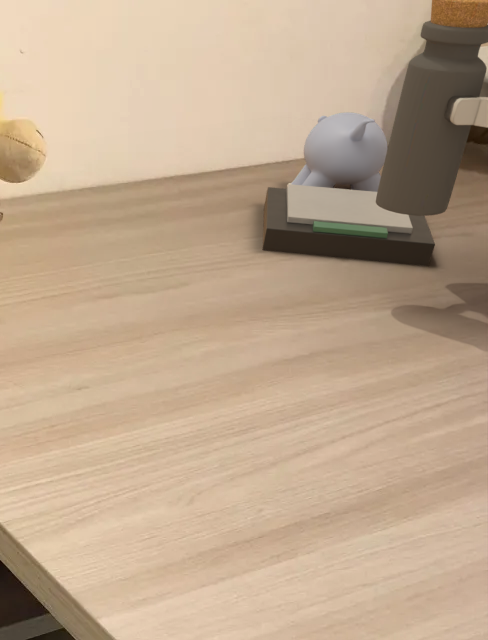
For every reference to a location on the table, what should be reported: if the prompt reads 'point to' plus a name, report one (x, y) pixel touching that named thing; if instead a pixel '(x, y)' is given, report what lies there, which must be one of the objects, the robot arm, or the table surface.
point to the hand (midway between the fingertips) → (427, 100)
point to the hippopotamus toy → (344, 153)
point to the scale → (342, 226)
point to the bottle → (434, 110)
